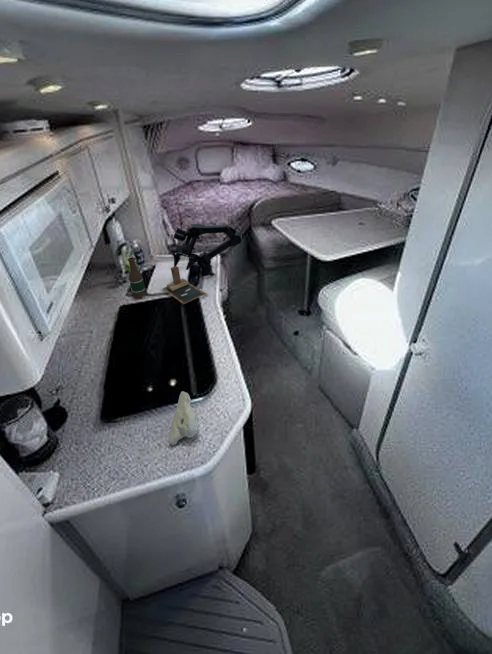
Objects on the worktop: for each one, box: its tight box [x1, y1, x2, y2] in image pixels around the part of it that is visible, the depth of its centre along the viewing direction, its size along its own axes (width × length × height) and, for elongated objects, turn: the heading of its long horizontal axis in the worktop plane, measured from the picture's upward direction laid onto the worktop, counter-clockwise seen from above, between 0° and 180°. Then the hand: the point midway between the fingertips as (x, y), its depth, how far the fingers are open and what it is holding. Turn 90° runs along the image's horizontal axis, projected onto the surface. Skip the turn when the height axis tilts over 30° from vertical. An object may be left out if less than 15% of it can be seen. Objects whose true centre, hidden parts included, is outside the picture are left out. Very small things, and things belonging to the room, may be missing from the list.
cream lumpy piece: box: [168, 390, 200, 446], centre depth 113 cm, size 15×7×15 cm
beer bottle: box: [127, 257, 147, 300], centre depth 188 cm, size 8×8×24 cm
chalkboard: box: [161, 281, 207, 305], centre depth 194 cm, size 24×15×1 cm, turn 41°
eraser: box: [166, 265, 189, 293], centre depth 195 cm, size 6×11×13 cm, turn 131°
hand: (180, 268), depth 197 cm, fingers open, 9 cm apart
